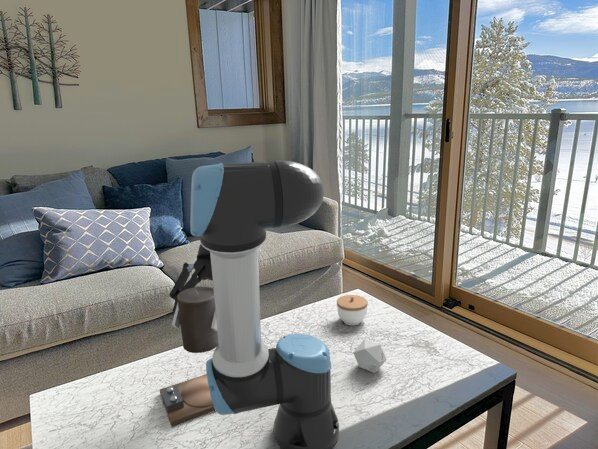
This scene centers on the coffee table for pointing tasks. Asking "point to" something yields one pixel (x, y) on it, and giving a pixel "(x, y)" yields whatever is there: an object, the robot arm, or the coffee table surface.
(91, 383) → the coffee table surface
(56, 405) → the coffee table surface
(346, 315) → the lidded jar
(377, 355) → the die
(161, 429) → the coffee table surface
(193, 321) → the pillar candle
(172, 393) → the dark grey studded block
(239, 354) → the robot arm
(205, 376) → the board
